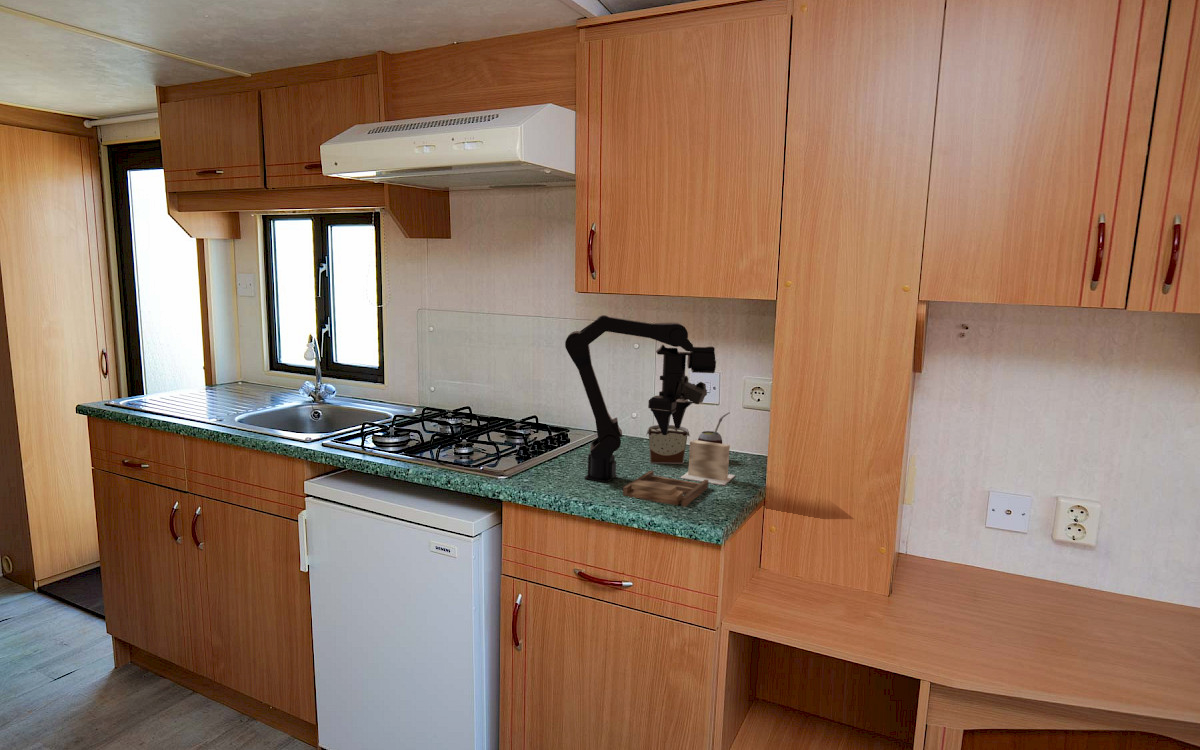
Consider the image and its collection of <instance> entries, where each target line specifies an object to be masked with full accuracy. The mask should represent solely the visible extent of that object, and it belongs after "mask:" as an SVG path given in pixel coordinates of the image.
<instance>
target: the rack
mask: <svg viewBox="0 0 1200 750" xmlns="http://www.w3.org/2000/svg"><path fill="white" fill-rule="evenodd" d="M654 473H655V471H653V470H649V471H647V472H646V473H644V474H643V475H641V476H639V477H638V478H636V479H634V480H633V481H631V482H629V483H628V484H626V485H624V486H623V487H622V496H625V495H626V497H627V493H628V492H630V491H631V490H632V483H634V482H635V481H637V480H642V481H648V482H655V483H661V484H667V485H673V486H677V488H676V490H677V491H683V497H682V500H681V503H680V504H681V505H680V506H681V507H687V506H688V505H689V504H690V503H691V502H693V501H694V500H695V499H696V498H697V497H699V496H700V495H701V494H702V493H703V492H705V491H706V490H707V489H708V488H709V483H708V480H704V481H702V482H696V481H690V480H684V479H675V478H670V477H664V476H658V475H654Z"/></svg>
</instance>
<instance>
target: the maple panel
mask: <svg viewBox="0 0 1200 750" xmlns="http://www.w3.org/2000/svg"><path fill="white" fill-rule="evenodd" d="M730 446H731V445H730V444H726V443H722V444H720V443H713V442H705V441H698V439H693V440H691V441H689V453H688V470H687V472H688V475H693V476H699V477H705V478H711V479H717V480H724V481H725V480H726V479H727V478H728V474H729V463H730Z"/></svg>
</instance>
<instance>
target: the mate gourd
mask: <svg viewBox="0 0 1200 750" xmlns="http://www.w3.org/2000/svg"><path fill="white" fill-rule="evenodd" d="M729 414H730V412H727V413H725V414H723V415H722V416H721V417H720V418H719V419H718V423H717V424H716V427H715V430H713V431H709V430H705V431H701V432H700V434H699V435H698V439H697V440H698V441H705V442H713V443H720V444H723V438H722V435H721V434H720V433H719V432H717V431H718V429H719V427H720V425H721V423H722V421H723V419H724V418H725V417H727V416H728V415H729Z"/></svg>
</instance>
